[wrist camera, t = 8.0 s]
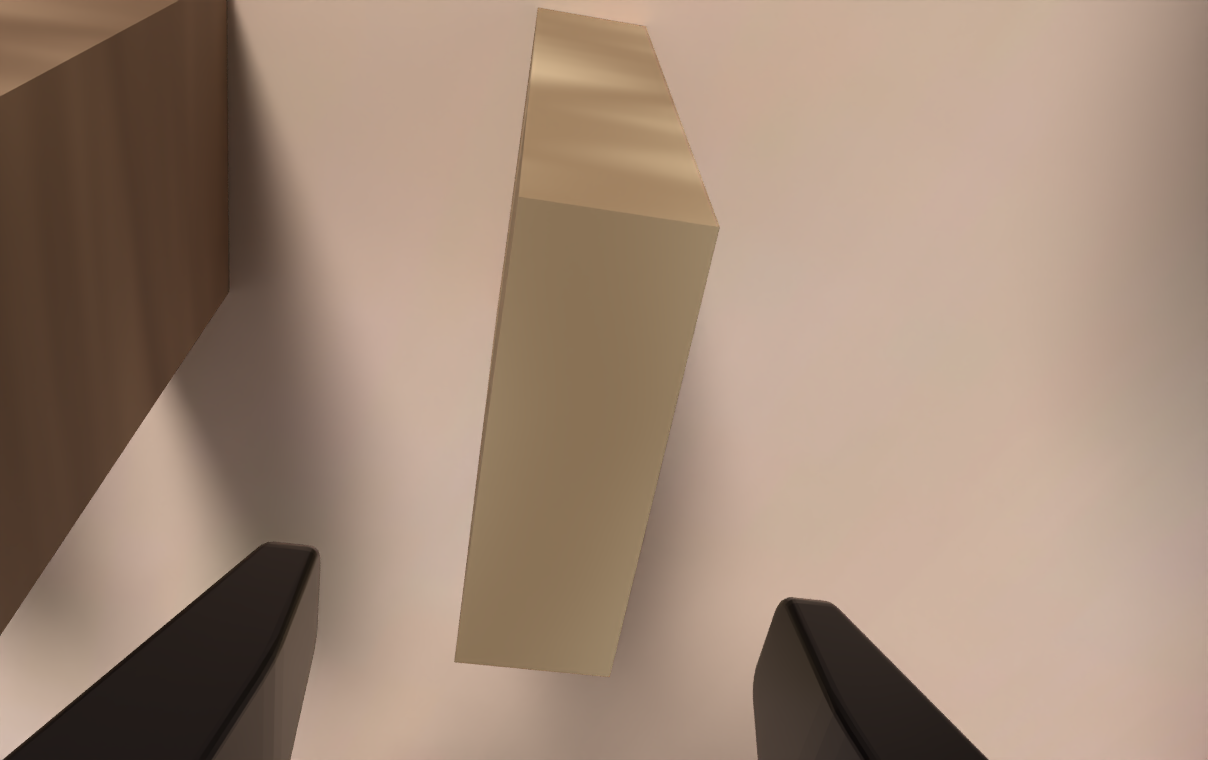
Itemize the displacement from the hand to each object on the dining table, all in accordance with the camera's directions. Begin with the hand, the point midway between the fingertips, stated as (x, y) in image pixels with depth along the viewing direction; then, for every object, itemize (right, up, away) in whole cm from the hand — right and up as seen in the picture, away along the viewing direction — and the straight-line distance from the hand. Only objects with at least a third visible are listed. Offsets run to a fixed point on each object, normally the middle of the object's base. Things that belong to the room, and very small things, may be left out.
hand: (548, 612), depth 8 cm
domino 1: (-6, +6, +7) cm, 11 cm away
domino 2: (0, +5, +8) cm, 9 cm away
